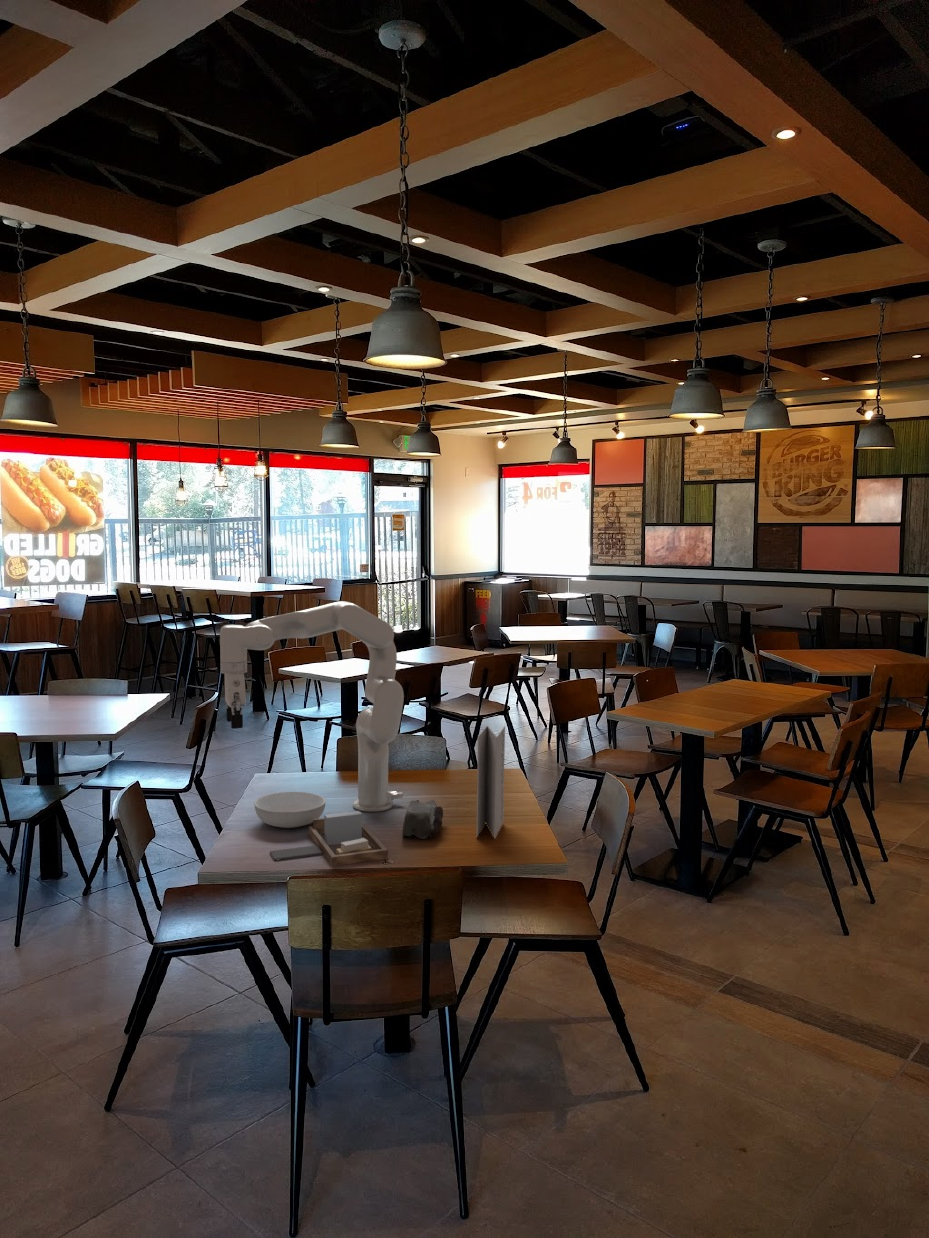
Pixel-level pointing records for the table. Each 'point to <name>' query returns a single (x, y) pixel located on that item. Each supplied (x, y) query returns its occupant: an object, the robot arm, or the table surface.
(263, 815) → the serving bowl
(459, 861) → the table surface
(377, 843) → the wooden tray
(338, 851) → the offcut lower
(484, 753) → the brochure
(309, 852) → the mat
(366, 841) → the offcut upper
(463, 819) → the table surface
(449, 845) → the table surface
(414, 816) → the rock
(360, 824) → the light grey block
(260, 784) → the table surface
